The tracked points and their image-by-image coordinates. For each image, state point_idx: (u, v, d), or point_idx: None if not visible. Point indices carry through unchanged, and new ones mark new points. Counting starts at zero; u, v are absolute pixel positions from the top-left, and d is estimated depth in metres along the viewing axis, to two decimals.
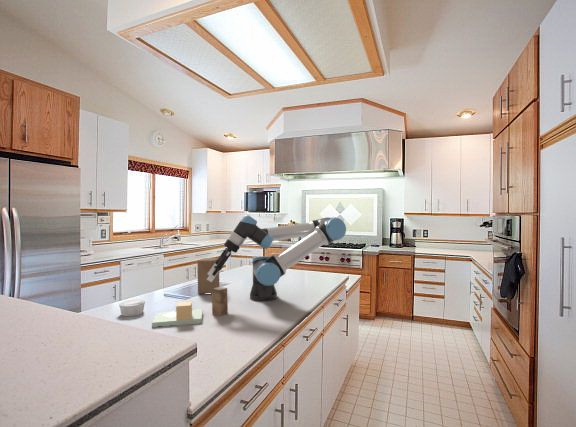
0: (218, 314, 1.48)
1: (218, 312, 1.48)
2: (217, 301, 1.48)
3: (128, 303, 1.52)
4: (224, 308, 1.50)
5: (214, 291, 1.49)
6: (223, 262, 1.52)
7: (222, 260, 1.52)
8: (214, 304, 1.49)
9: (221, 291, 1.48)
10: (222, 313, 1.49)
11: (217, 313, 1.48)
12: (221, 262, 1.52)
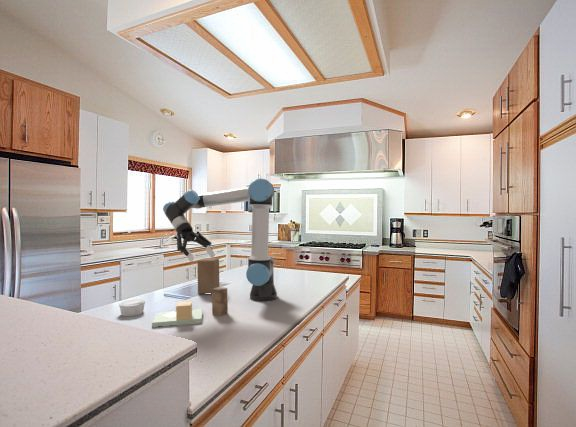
0: (218, 314, 1.48)
1: (218, 312, 1.48)
2: (217, 301, 1.48)
3: (128, 303, 1.52)
4: (224, 308, 1.50)
5: (214, 291, 1.49)
6: (178, 242, 1.53)
7: (177, 242, 1.54)
8: (214, 304, 1.49)
9: (221, 291, 1.48)
10: (222, 313, 1.49)
11: (217, 313, 1.48)
12: (177, 244, 1.53)
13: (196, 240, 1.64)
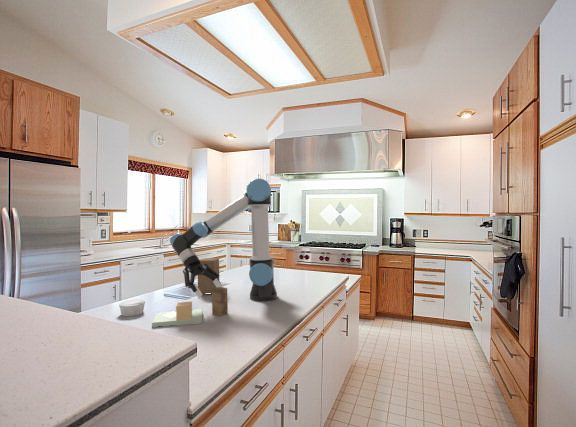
0: (218, 314, 1.48)
1: (218, 312, 1.48)
2: (217, 301, 1.48)
3: (128, 303, 1.52)
4: (224, 308, 1.50)
5: (214, 291, 1.49)
6: (186, 278, 1.50)
7: (185, 278, 1.50)
8: (214, 304, 1.49)
9: (221, 291, 1.48)
10: (222, 313, 1.49)
11: (217, 313, 1.48)
12: (185, 280, 1.49)
13: (204, 273, 1.60)
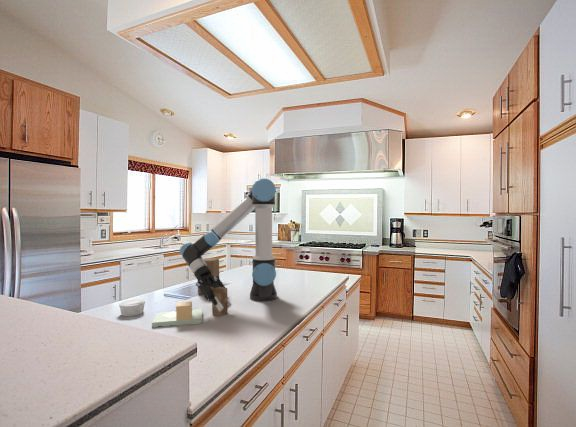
0: (218, 314, 1.48)
1: (218, 312, 1.48)
2: None
3: (128, 303, 1.52)
4: (224, 308, 1.50)
5: (214, 291, 1.49)
6: (204, 291, 1.48)
7: (202, 291, 1.48)
8: None
9: (221, 290, 1.48)
10: (222, 313, 1.49)
11: (217, 313, 1.48)
12: (203, 293, 1.48)
13: (213, 285, 1.55)
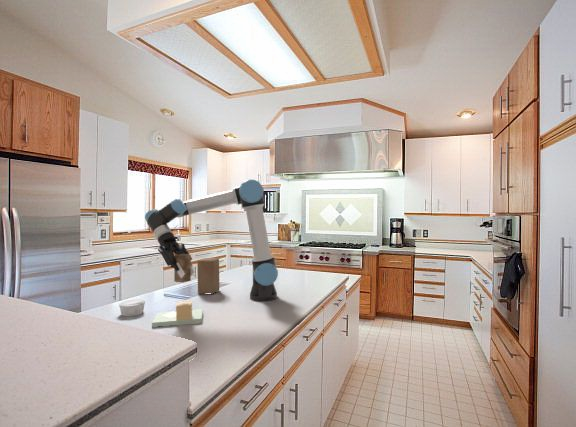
0: (180, 281, 1.43)
1: (180, 279, 1.43)
2: None
3: (128, 303, 1.52)
4: (186, 275, 1.45)
5: (176, 257, 1.45)
6: (165, 257, 1.43)
7: (164, 257, 1.44)
8: None
9: (183, 256, 1.44)
10: (184, 280, 1.44)
11: (179, 280, 1.44)
12: (165, 259, 1.43)
13: (177, 252, 1.51)
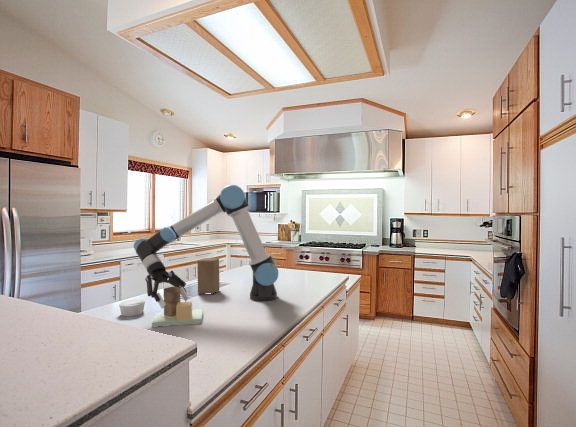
0: (169, 315, 1.42)
1: (169, 313, 1.42)
2: (169, 301, 1.42)
3: (128, 303, 1.52)
4: None
5: (165, 291, 1.43)
6: (148, 286, 1.40)
7: (147, 287, 1.41)
8: (166, 304, 1.43)
9: (172, 290, 1.42)
10: (174, 313, 1.42)
11: (168, 314, 1.42)
12: (148, 288, 1.40)
13: (169, 281, 1.50)
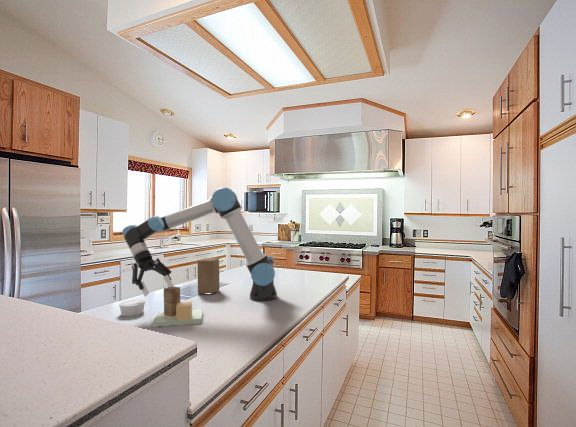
0: (169, 315, 1.42)
1: (169, 313, 1.42)
2: (169, 301, 1.42)
3: (128, 303, 1.52)
4: None
5: (165, 291, 1.43)
6: (134, 274, 1.47)
7: (133, 274, 1.48)
8: (166, 304, 1.43)
9: (172, 290, 1.42)
10: (174, 313, 1.42)
11: (168, 314, 1.42)
12: (133, 276, 1.47)
13: (155, 269, 1.58)
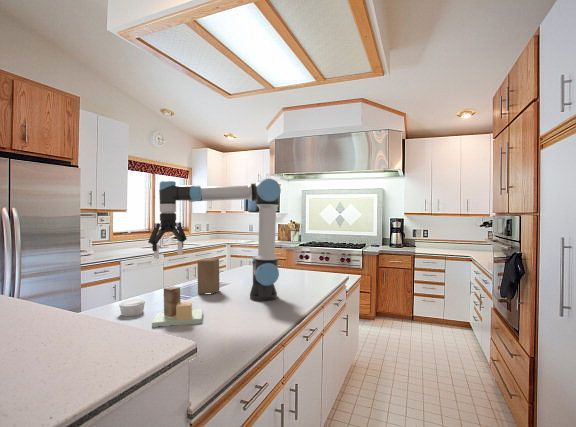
0: (169, 315, 1.42)
1: (169, 313, 1.42)
2: (169, 301, 1.42)
3: (128, 303, 1.52)
4: None
5: (165, 291, 1.43)
6: (153, 234, 1.49)
7: (152, 233, 1.49)
8: (166, 304, 1.43)
9: (172, 290, 1.42)
10: (174, 313, 1.42)
11: (168, 314, 1.42)
12: (151, 236, 1.49)
13: (173, 232, 1.59)
